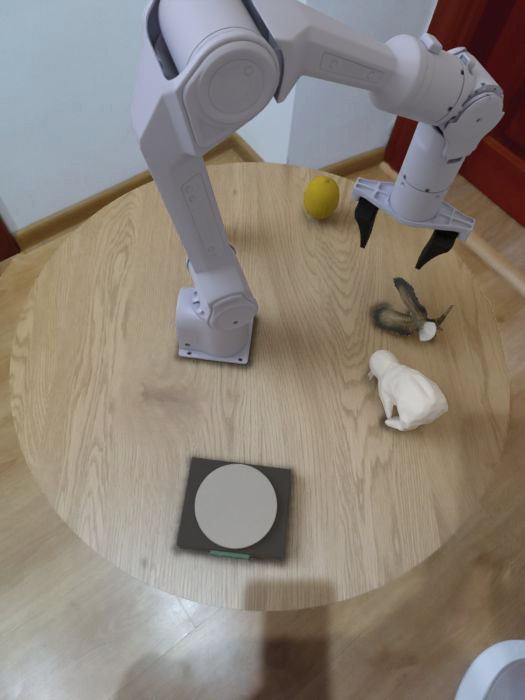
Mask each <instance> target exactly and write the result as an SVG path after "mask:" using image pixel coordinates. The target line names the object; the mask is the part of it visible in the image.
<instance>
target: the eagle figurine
mask: <svg viewBox="0 0 525 700" xmlns="http://www.w3.org/2000/svg"><path fill="white" fill-rule="evenodd" d="M392 280H393V281H392V282H393V284H394V287H395V289H396V290H397V292H398V294H399V296H400V299H401V301H402V303H403V304H404V306H406V308H407V309H408V310H409V311H410V313H409V314H407V313H403V312H401V311H398V310H396V309H393V308H392V307H389V306H388V305H386V304H383V305H380V306H379V307H376V308H375V309H374V310H373V315H372V317H373V318H374V322H375V325H376V326H377V327H379V329H381V330H384V331H385V330H386V331H388V332H392V333H394V334H397V335H399V336H401V337H409V336H411V335H412V334H414V333H415V332H417V331H418V335H419V336H418V337H419V341H420V342H429V341H431V340H432V339H433V338H437V330H439V331H441V332H443V331H444V328H443V327H441V325H442V324H443V323H444V321H445V320H446V319H447V317H448V315H449V313H450V312H451V311H452V309H453V308H454V306H455V305H454V304H451V305H449V306H448V307H447V308H446V309H445V311H444V312H443V313H442V314H441V315H440V316H438V317H436V318H430V317H428V316H429V313H428V310H427V308H426V307H425V305H422V304H421V303H420V301H419V298H418V297H417V294H416V292H415V289H414V287H413V286H412V284H410V283H409V282H408V281H407V280H405V279H404V278H403V277H402V276H401V277H400V276H395V277H393V278H392Z"/></svg>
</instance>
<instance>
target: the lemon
mask: <svg viewBox="0 0 525 700" xmlns="http://www.w3.org/2000/svg"><path fill="white" fill-rule="evenodd" d="M340 198H341V197H340V187H339V185H338V183H337V182H336V181H335V180H334V179H333V178H332V177H330V176H329V175H328V176H327V175H319V176H316V177H314V178H312V179H311V180H310V181H309V183H308V184H307V186H306V188H305V190H304V193H303V199H302V201H303V206H304V207H303V208H304V210H305V211H306V213H307V214H308V215H309V216H310V217H312V218H313V219H315V220H316V219H318V220H324V219H327V218H329V217H331V216H332V215H333V214H334V213H335V211H336V210H337V208H338V205H339V203H340Z"/></svg>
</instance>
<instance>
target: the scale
mask: <svg viewBox="0 0 525 700" xmlns="http://www.w3.org/2000/svg"><path fill="white" fill-rule="evenodd" d="M190 461H191V462H190V466H189V473H188V478H187V484H186V488H185V489H186V490H185V494H184V500H183V506H182V512H181V518H180V523H179V528H178V533H177V540H176V547H177V548H180V549H181V548H182V549H189V550H196V551H197V550H198V551H205V552H209V554H210V555H211V556H217V557H218V556H219V557H225V558H234V559H242V560H250V557H253V558H260V559H261V558H262V559H270V560H277V561H283V560H284V558H285V548H286V538H287V537H286V536H287V523H288V511H289V501H290V490H291V489H290V488H291V476H292V469H290V468H282V467H274V466H266V465H265V466H264V465H258V464H251V463H250V464H248V463H241V462H232V461H226V460H218V459H209V458H201V457H193V456H192V457H191V460H190Z"/></svg>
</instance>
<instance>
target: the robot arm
mask: <svg viewBox="0 0 525 700" xmlns="http://www.w3.org/2000/svg"><path fill="white" fill-rule="evenodd" d="M141 24H142V25H141V33H142V35H141V36H142V37H141V52H140V57H139V63H138V69H137V74H136V78H135V79H136V80H135V85H134V89H133V96H132V100H131V108H130V112H129V118H130V124H131V127H132V130H133V134H134V136H135V139H136V141H137V146H138V148H139V150H140V153H141V155H142V156H143V159H144V162H145V164H146V166H147V169H148V171H149V173H150V175H151V177H152V180H153V182H154V184H155V187H156V189H157V191H158V193H159V196H160V198H161V199H162V202H163V204H164V207H165V209H166V211H167V213H168V215H169V218H170V220H171V222H172V225H173V227H174V229H175V231H176V233H177V236H178V238H179V240H180V243H181V245H182V247H183V249H184V251H185V254H186V257H185V267H186V269H187V271H188V272H189V274H190V277H191V280H192V283H193V286H191V287H190V286H184V287H181V288H180V289H179V292H178V295H177V301H176V306H175V307H176V308H175V316H174V319H175V322H174V323H175V324H174V325H175V331H176V332H175V333H176V338H177V343H178V347H179V348H178V356H179V357H182V358H190V359H197V360H206V361H211V362H220V363H229V364H238V365H247V364H248V362H249V361H248V360H249V356H250V348H251V342H252V334H253V326H254V321H255V317H256V315H257V313H258V311H259V303H258V301H257V299H256V298H254V297H255V296H254V295H253V293H252V290H251V288H250V285H249V283H248V280H247V278H246V276H245V273H244V270H243V268H242V266H241V264H240V261H239V259H238V256H237V251H236V248H235V246H234V244H233V243H232V242H230V241H229V238H228V235H227V232H226V229H225V225H224V221H223V219H222V215H221V212H220V207H219V205H218V202H217V199H216V196H215V192H214V189H213V185H212V182H211V179H210V176H209V173H208V169H207V166H206V163H205V160H204V155H206V154H207V153H208V152H210V151H211V150H212V149H214V148H215V147H217V146H218V145H220V144H221V143H222V142H223V141H225V140H226V139H227V138H229V137H230V136H231V135H233V134H234V133H236V132H238V131H239V130H240V129H241V128H242V127H244V126H245V125H246V124H249V122H251V121H252V120H253V119H255V118H256V117H257V116H258V115H259V114H261V113H262V112H263V111H264V110H265V109H266V107H267V106H268V105H270V102H271V101H272V100H273V98H274V100H275V102H276V104H281V103H283V102H284V101H285V100H286V99H287V97H288V96H289V94H290V93H291V92H292V90H293V88H294V87H295V85H296V84H297V82H298V81H299V80H300V78H301V77H302V76H305V77H309V78H313V79H317V80H321V81H326V82H330V83H335V84H338V85H339V84H340V85H343V86H348V87H352V88H357V89H361V90H366V92H367V95H368V98H369V101H370V102H371V105H372V106H373V107H375V108H376V109H377V110H379V111H382V112H385V113H388V114H392V115H395V116H398V117H402V118H404V119H409V120H412V121H415V122H417V125H416V128H415V131H414V133H413V136H412V139H411V141H410V144H409V146H408V149H407V151H406V155H405V157H404V160H403V162H402V164H401V167H400V170H399V173H398V174H397V175H398V176H397V178H396V180H395V182H392V181H391V182H390V181H381V180H373V179H367V178H364V177H361V176H358V177H357V179H356V180H355V183H354V185H353V187H352V190H351V193H350V197H349V199H350V200H351V201H354V202H357V204H356V207H355V208H354V211H353V212H354V213H353V217H354V219H355V221H356V223H357V227H358V230H359V238H360V241H359V247H360V248H361V249H363V250H365V249H366V247H367V244H368V242H369V240H370V237H371V235H372V232H373V229H374V225H375V221H376V218H377V215H378V214H379V213H378V212H379V210H381V211H382V212H383V213H385V214H386V215H387V216H389V217H390V218H392V219H393V220H395V221H396V222H397V223H399V224H400V225H403V226H406V227H409V228H417V229H428V230H433V232H432V234H431V236H430V237H429V239H428V241H427V243H426V244H425V245H424V247H423V249H422V250H421V252H420V254H419V256H418V258H417V261H416V264H415V266H414V269H415V270H418V271H419V270H421V269H422V268H423V267H424V266H425V265H426V264H427V263H428V262H430V261H431V260H433V259H434V258H437V257H438V256H441V255H443V254H447V253H450V251H451V250H452V249H453V247H454V246H455V243H456V239H457V240H459V241H462V242H467V240H468V238H469V237H470V235H471V234H472V232H473V230H474V227H475V224H476V220H477V219H475V218H473V217H471V216H469V215H467V214H465V213H463V212H461V211H460V210H458V209H457V208H456V207H454V206H452V205H451V204H450V203H448V202H447V201H445V198H446V196H447V194H448V192H449V190H450V188H451V186H452V184H453V182H454V181H455V179H456V177H457V175H458V173H459V171H460V169H461V167H462V165H463V163H464V162H465V159H466V157H469V156H470V155H471V154H472V153H473V152H474V151H476V149H477V147H478V145H479V143H480V142H481V141H482V139H483V138H484V137H485V136H486V135H487V134H488V133H490V132H491V131H492V130H493V129H494V128H495V127H496V126H497V124H498V123H500V121H501V120H502V119H503V117H504V115H505V111H503V109H504V97H505V95H504V90H503V89H502V87H501V86H500V85H499V83H497V82H496V81H495V79H494V78H493V77H492V76H491V74H490V73H489V72H488V71H487V69H485V67H483V65H482V64H481V63H480V62H479V60H478V59H477V58H476V57H475V56H474V55H473V54H471V53H470V52H469V51H467V48H466V47H465V46H457V47H455V48H451V49H449V50H447V51H446V50H444V49H443V45H442V44H441V42H440V41H439V40H438V39H437V37H436V36H434V35H433V34H431V33H428V32H423V34H422V35H421V37H420V38H417V37H414V36H412V35H410V34H406V33H405V34H402V33H401V34H398V35H395V36H393V37H391V38H389V39H388V40H387V41H386V42H384V43H383V42H381V41H380V40H378V39H376V38H373V37H371V36H370V35H367V34H365V33H363V32H361V31H359V30H357V29H356V28H353V27H352V26H349V25H347V24H345V23H344V22H341V21H339V20H338V19H335V18H333V17H331V16H330V15H327V14H326V13H323V12H321V11H319V10H317V9H315V8H313V7H311V6H309V5H308V4H305V3H304V2H301V1H299V0H149V1H148V3H147V4H146V6H145V7H144V9H143V11H142V13H141Z"/></svg>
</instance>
